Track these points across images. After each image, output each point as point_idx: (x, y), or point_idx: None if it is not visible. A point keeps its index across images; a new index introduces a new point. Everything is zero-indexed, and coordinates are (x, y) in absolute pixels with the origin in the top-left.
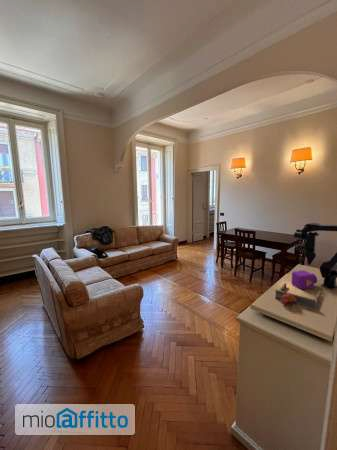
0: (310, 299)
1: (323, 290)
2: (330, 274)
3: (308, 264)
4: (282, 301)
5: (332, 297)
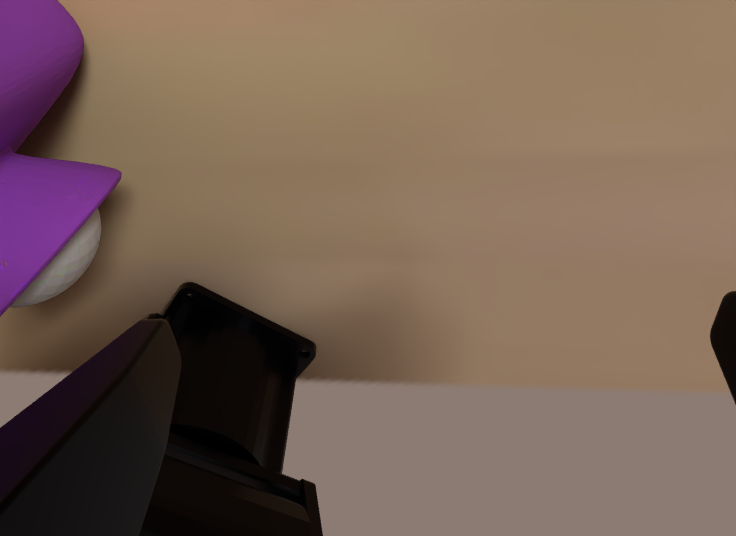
0: None
1: None
2: (289, 496)
3: (134, 340)
4: None
5: None
